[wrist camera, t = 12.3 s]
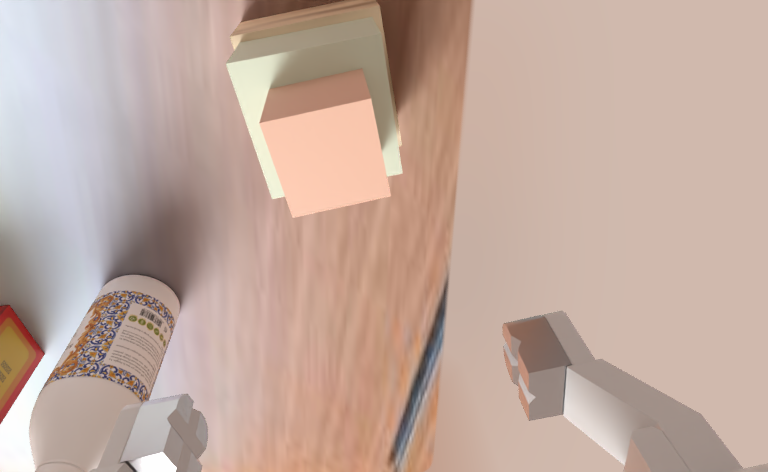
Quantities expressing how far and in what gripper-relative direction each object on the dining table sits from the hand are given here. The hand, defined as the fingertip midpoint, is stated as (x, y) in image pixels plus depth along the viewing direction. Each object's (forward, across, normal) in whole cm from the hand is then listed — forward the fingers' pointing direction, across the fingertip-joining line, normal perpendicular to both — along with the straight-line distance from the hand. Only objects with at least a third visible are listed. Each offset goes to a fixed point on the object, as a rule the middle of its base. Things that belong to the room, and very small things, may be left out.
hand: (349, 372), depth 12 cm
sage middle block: (+22, 0, 0) cm, 22 cm away
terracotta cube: (+17, 0, 0) cm, 17 cm away
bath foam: (+27, +22, +16) cm, 38 cm away
